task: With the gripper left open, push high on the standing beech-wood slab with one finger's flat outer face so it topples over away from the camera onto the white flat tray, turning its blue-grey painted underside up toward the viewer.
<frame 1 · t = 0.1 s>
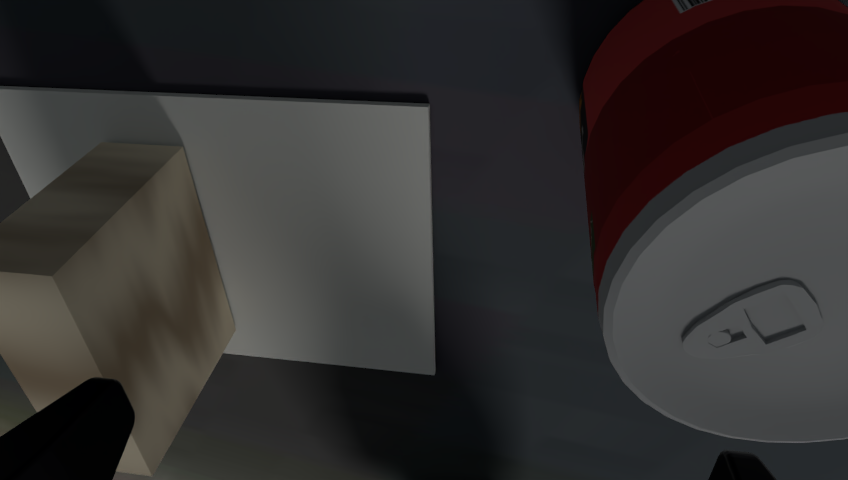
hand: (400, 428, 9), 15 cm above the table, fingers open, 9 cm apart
canned food: (700, 83, 20), on the table
beech slab: (177, 242, 27), resting on white flat tray
white flat tray: (232, 242, 27), on the table
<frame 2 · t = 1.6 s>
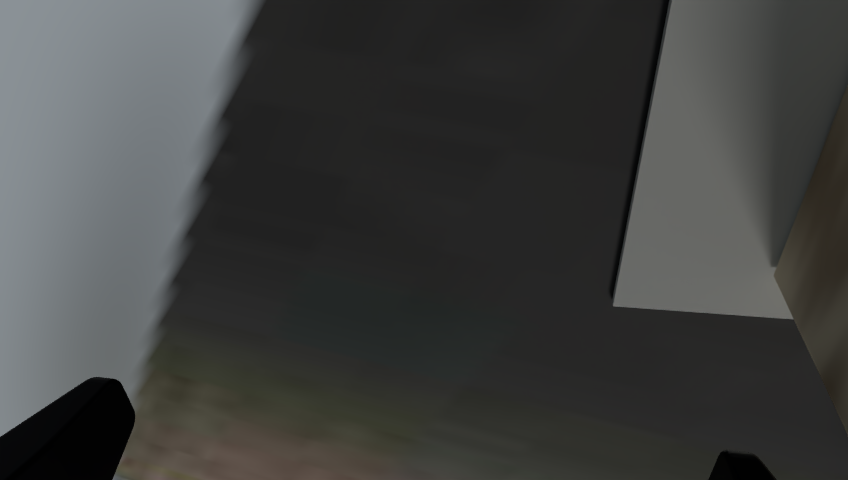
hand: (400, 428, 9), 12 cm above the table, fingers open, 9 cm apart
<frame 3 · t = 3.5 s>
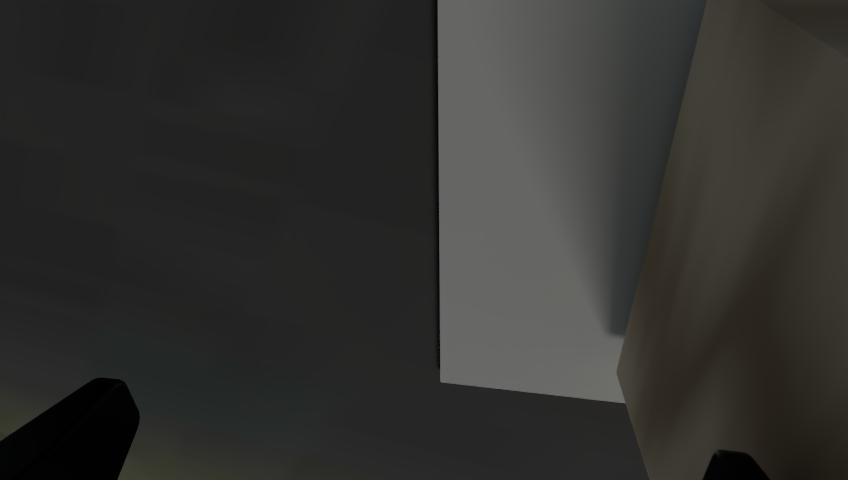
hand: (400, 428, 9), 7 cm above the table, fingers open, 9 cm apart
beech slab: (732, 210, 13), point 1 cm above the table, tilted 9°, touching white flat tray
white flat tray: (845, 205, 13), on the table
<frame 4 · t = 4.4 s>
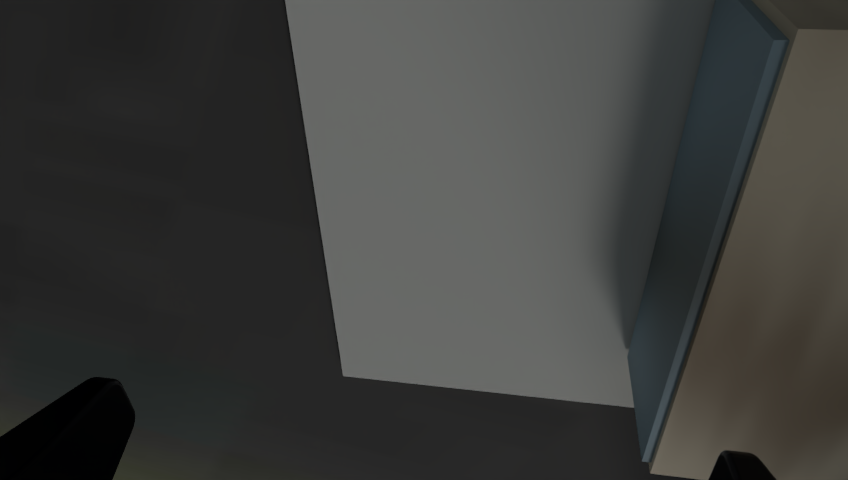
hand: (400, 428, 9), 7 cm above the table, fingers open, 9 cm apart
beech slab: (676, 251, 12), point 2 cm above the table, tilted 90°, touching white flat tray
white flat tray: (699, 199, 14), on the table
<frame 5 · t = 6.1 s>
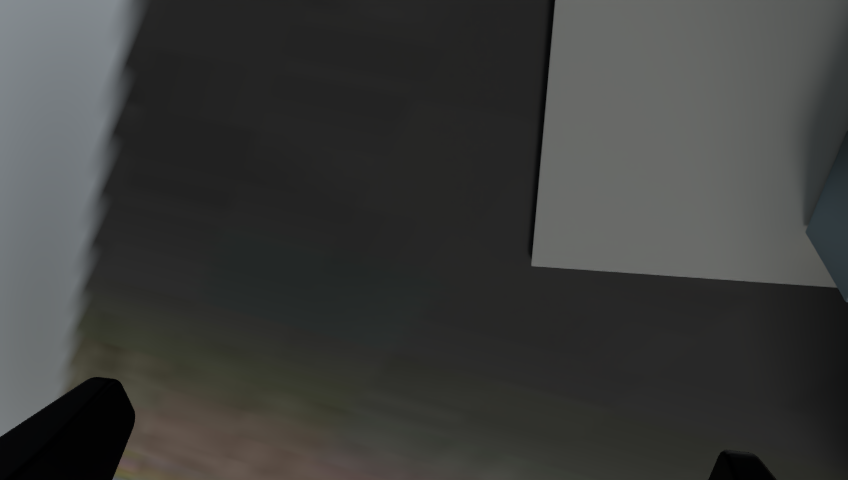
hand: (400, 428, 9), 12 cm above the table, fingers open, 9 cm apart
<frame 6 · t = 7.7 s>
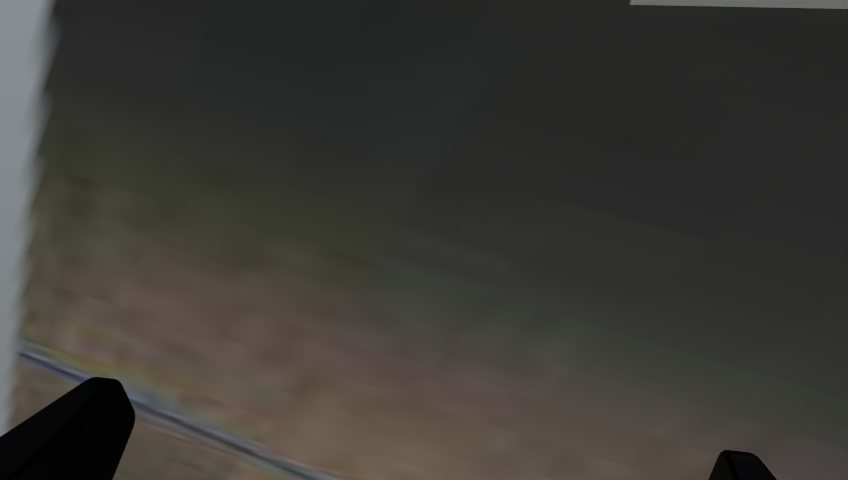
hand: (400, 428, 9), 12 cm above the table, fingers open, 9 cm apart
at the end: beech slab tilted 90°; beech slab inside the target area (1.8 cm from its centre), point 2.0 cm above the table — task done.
